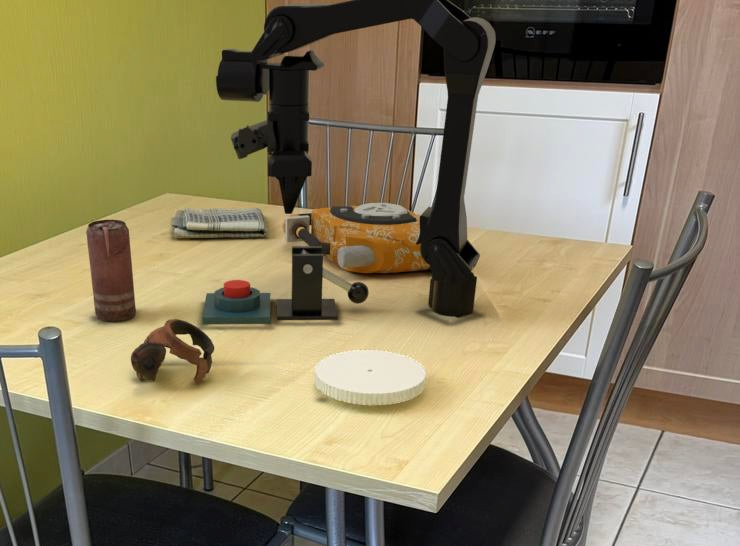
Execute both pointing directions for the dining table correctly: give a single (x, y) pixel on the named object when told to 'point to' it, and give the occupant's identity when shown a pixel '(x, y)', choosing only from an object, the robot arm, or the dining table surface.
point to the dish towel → (219, 223)
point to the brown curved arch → (172, 350)
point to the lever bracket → (307, 288)
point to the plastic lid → (370, 377)
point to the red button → (236, 289)
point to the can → (111, 270)
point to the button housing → (236, 308)
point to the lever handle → (347, 286)
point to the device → (362, 236)
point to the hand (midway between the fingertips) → (288, 213)
